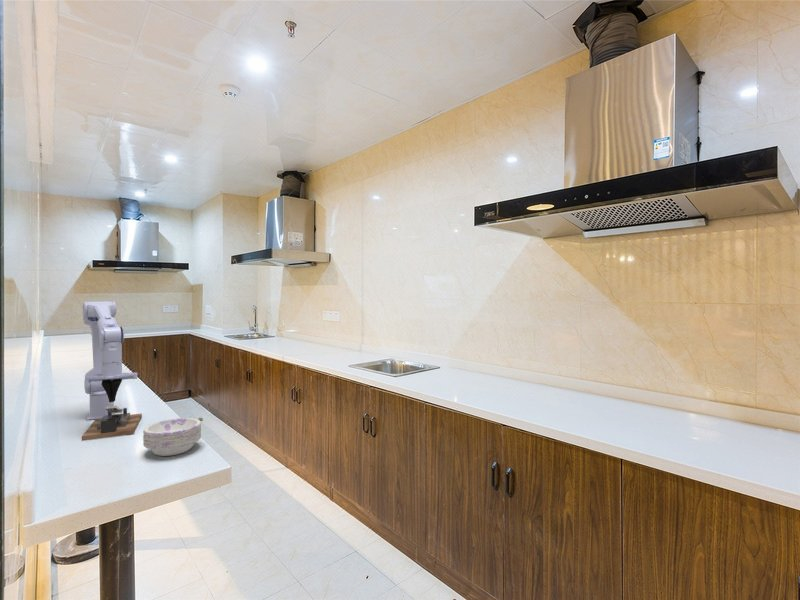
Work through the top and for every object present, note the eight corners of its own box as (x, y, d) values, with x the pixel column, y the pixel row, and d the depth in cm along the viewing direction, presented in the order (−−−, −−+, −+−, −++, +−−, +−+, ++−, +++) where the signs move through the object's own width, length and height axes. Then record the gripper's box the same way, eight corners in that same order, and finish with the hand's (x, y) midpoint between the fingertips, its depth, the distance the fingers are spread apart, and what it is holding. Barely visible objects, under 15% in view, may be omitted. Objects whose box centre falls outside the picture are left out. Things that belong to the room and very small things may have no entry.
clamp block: (104, 419, 146) (104, 408, 145) (130, 417, 149) (130, 406, 149) (93, 434, 131) (93, 422, 131) (123, 430, 134) (122, 418, 134)
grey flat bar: (112, 413, 146) (112, 410, 147) (122, 412, 147) (122, 409, 148) (104, 408, 135) (105, 405, 135) (115, 407, 136) (115, 403, 137)
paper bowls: (188, 437, 133) (188, 413, 133) (210, 449, 123) (209, 423, 123) (135, 451, 121) (135, 425, 121) (155, 465, 111) (154, 437, 111)
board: (96, 422, 147) (96, 418, 147) (141, 417, 153) (141, 413, 153) (81, 440, 129) (81, 436, 129) (133, 434, 135) (133, 429, 135)
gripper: (82, 365, 131) (82, 406, 132) (135, 362, 138) (135, 401, 138) (87, 362, 138) (88, 401, 138) (138, 359, 144) (138, 396, 144)
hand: (112, 401), depth 138 cm, fingers closed
